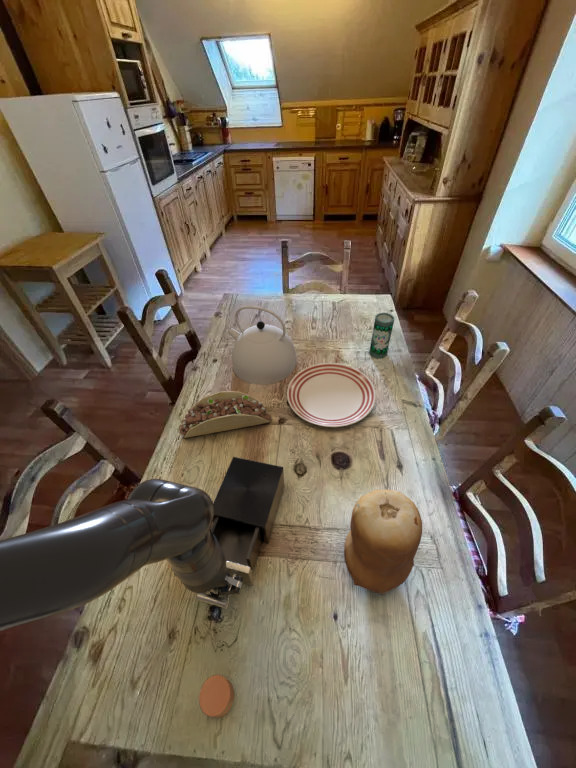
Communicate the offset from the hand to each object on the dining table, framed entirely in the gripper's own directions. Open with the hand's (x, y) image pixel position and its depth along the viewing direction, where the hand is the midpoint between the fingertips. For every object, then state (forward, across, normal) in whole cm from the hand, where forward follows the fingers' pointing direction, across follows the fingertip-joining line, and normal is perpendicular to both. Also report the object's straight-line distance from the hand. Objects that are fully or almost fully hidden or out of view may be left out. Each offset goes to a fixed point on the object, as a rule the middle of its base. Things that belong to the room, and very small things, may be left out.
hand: (217, 590), depth 66 cm
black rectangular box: (+4, 0, +20) cm, 20 cm away
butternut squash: (+5, +29, +13) cm, 33 cm away
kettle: (+5, -14, +72) cm, 74 cm away
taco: (+5, -16, +42) cm, 45 cm away
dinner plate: (+5, +13, +60) cm, 61 cm away
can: (+5, +26, +86) cm, 90 cm away
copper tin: (+5, +6, -14) cm, 16 cm away
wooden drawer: (+4, 0, +7) cm, 8 cm away
